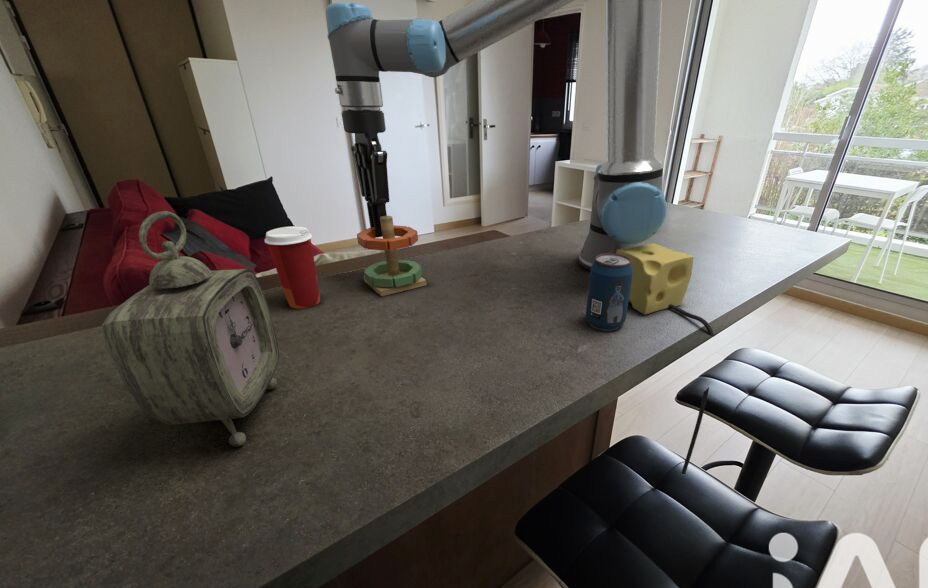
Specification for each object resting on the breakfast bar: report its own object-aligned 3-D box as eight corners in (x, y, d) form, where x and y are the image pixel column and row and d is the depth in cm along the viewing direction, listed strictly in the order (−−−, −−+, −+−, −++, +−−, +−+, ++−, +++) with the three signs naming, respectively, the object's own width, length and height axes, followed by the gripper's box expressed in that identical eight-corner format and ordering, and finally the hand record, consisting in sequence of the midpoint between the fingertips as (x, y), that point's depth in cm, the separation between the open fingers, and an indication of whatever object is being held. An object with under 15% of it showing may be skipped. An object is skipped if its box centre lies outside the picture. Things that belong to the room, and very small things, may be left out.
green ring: (429, 279, 87) (429, 271, 86) (378, 291, 81) (376, 283, 81) (407, 264, 95) (406, 256, 94) (359, 274, 89) (357, 266, 88)
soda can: (599, 310, 78) (607, 249, 72) (632, 323, 74) (642, 259, 68) (577, 322, 74) (583, 258, 68) (610, 337, 69) (619, 269, 64)
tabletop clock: (250, 456, 46) (160, 232, 34) (159, 466, 44) (31, 237, 32) (290, 379, 58) (234, 196, 46) (220, 385, 57) (144, 199, 45)
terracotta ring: (426, 243, 84) (425, 235, 83) (371, 254, 78) (370, 244, 77) (402, 230, 91) (402, 222, 91) (351, 239, 85) (350, 230, 85)
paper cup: (333, 295, 83) (318, 226, 77) (313, 312, 77) (295, 238, 70) (296, 293, 84) (278, 224, 77) (273, 310, 77) (251, 236, 71)
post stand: (426, 285, 88) (420, 218, 81) (381, 296, 83) (370, 226, 76) (407, 271, 95) (399, 209, 88) (364, 281, 90) (352, 215, 83)
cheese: (644, 316, 76) (653, 264, 71) (607, 294, 84) (613, 247, 80) (685, 305, 80) (696, 256, 76) (645, 286, 89) (653, 240, 84)
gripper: (329, 108, 80) (351, 229, 91) (355, 110, 69) (375, 246, 81) (368, 108, 84) (384, 224, 95) (397, 109, 73) (411, 239, 84)
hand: (380, 234), depth 88 cm, fingers closed on terracotta ring, 2 cm apart
